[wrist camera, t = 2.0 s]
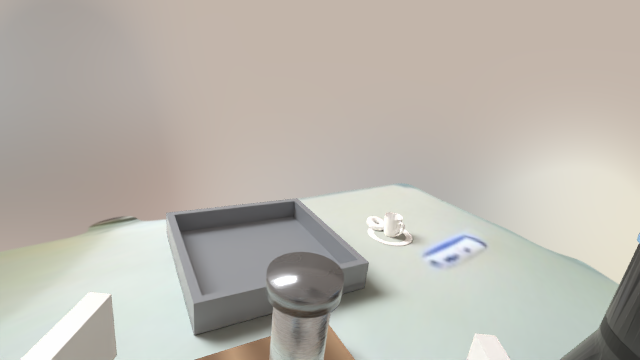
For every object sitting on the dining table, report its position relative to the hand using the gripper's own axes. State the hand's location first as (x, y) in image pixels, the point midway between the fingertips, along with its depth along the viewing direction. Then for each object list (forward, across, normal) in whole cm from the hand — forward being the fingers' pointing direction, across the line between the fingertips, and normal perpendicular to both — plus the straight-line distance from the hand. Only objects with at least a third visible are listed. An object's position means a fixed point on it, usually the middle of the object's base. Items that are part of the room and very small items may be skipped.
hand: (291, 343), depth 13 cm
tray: (+34, -6, -18) cm, 39 cm away
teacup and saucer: (+49, +16, -19) cm, 55 cm away
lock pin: (+10, 0, -19) cm, 21 cm away
